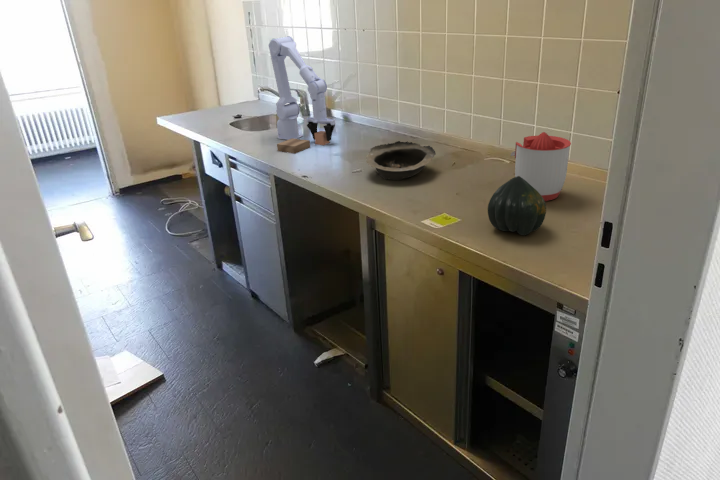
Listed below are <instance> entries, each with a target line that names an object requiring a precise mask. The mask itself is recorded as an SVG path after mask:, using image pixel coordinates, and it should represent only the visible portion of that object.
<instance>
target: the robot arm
mask: <svg viewBox="0 0 720 480" xmlns="http://www.w3.org/2000/svg"><path fill="white" fill-rule="evenodd" d="M268 49H269V53H270V60H271V64H272V68H273V73H274V74H273V75H274V77H275V78H274V79H275V82H276V88H277V91H278V96H279V99H278V100H277V101H276V104H275V105H276V115H277V118H278V120H277V122H276V129H277V137H276V138H277V139H280V140H284V141H286V140H289V139H291V138H294V139H301V138H303V137H304V135H303V134H300V132H299V125H298V118H299V115H300V112H301V108H300V106H299V103H298V102H297V101H298V100H297V99H296V98H295V97H294V96H293V95H292V92H291V87H290V81H289V76H288V72H287V68H286V64H285V59H286V58H287V57H289V59H290V60H291V61H292V62H293V63H294V65H295V66H296V67H297V69H298V70H299V75H300V77H301V79H302V80H303V82H305V84H306V86H307V92H308V93H309V94H310V95H309V96H310V99H311V105H312V106H311V107H312V114H313V115H312V117H311V116H310V117H306V118H305V121H306V127H307V128H308V129H309V132H310V134H311V135H312V139H313V140H314V141H315V135H314V133H316V132H318V125H319V124H321V125H323V129H324V131H325V132H326V139H327V141H331V140H332V136H333V131H334V128H335V127H336V119H333V118H332V119H331V118H328V116H327V106H326V95H325V93H326V91H327V89H328V84H327V83H326V80H325V79H323V78H321V77H319V75H318V74H317V73H316V71H315V70H314V68H313V67H312V66H311V65H308V64H306V62H305V61H304V59H303V58H302V56H301V54H300V53H299V51H298V49H297V43H296V42H295V40H294V39H293V37H292V36H290V35H288V36H284V37H278V38H277V37H276V38H272V39H271V40H270V42H269V43H268Z"/></svg>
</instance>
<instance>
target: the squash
mask: <svg viewBox="0 0 720 480" xmlns="http://www.w3.org/2000/svg"><path fill="white" fill-rule="evenodd" d="M546 214H547V205H546V201H544V199H543V197H542V196H541V195H540V193H539V192H538V191H537V190H536V189H535V188H533V187H532V186H531V185H530V184H529V183H528V182H527V181H525V180H524V179H523V178H521V177H520V176H517V177H515V176H514V177H512V178H511V179H509V180H508V181H506V182H505V183H504V184H502V185H501V186H499V187H498V188H497V189H496V190H495V192H494V193H493V194H492V196H491V197H490V199H489V201H488V205H487V215H488V219H489V222H490V224H491V226H493V227H494V228H495V229H496V230H499V231H503V232H509V231H510V232H513V233H514V232H516V233H517V234H519V235H520V236H527V235H529V234H530V233H532V232H535V231H537V230H538V229H539V228H540V227H541V226H542V225H543V223H544V221H545V219H546Z"/></svg>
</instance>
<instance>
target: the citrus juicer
mask: <svg viewBox="0 0 720 480" xmlns="http://www.w3.org/2000/svg"><path fill="white" fill-rule="evenodd" d="M522 144H523V145H522ZM522 144H521V143H520V142H518V141H516V142H515V150H514V151H511V153H510V157H513V156H514V159H515V162H514V163H515V167H514V175H515V176H514V177H517V176H520V177H521V178H523V179H524V180H525V181H527V182H528V183H529V184H530V185H531V186H532V187H533V188H535V189H536V190H537V191H538V192H539V193H540V195H541V196H542V197H543V199H544V201H545V202H548V201H551V200H552V201H553V200H555V199H557V198H558V197H559V195H560V194H561V192H562V190H563V187H564V184H565V181H566V177H567V171H568V164H569V163H568V162H569V155H570V146H571V145H572V142H571V141H570V140H569V139H567V138H564V137H561V136H554V135H549V134H548V133H547V132H545V131H543V132H541V133H539V134H538V135H529V136H525V137H524V136H523V143H522Z"/></svg>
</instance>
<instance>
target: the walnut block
mask: <svg viewBox="0 0 720 480" xmlns="http://www.w3.org/2000/svg"><path fill="white" fill-rule="evenodd" d="M310 141H311V140H309V139H302V138H297V139H294V138H291V139H289V140H283V141H282V142H278V143H276V147H277V148H276V149H277V151H278V152H281V151H282V153H287V152H288V154H294V155H296V154H298V153H300V152H303V151H305V150H308V149H311V142H310Z"/></svg>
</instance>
